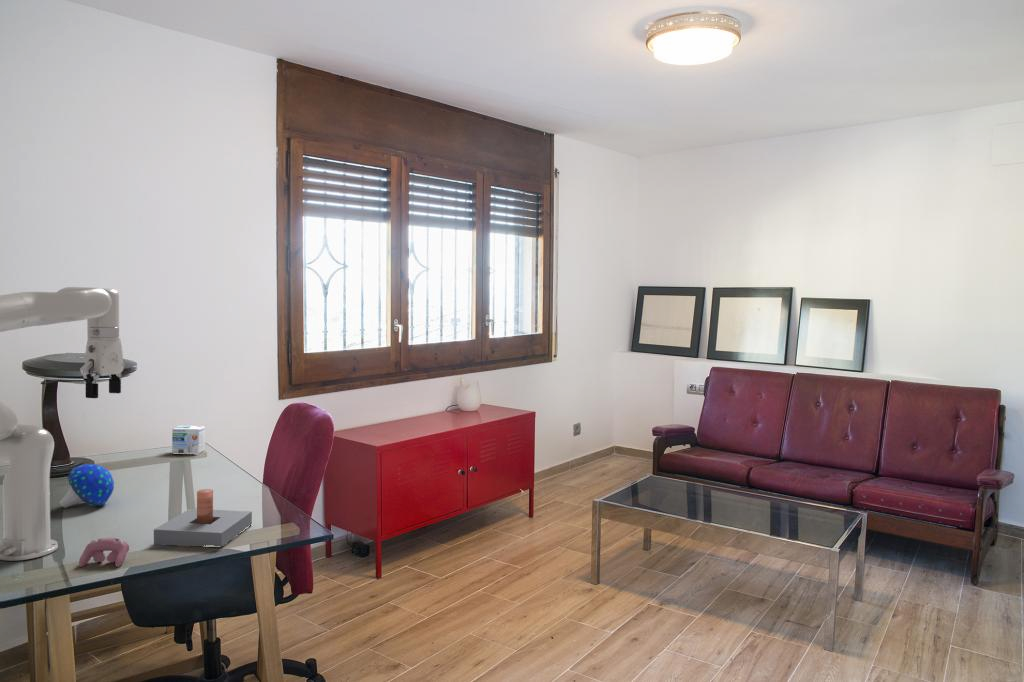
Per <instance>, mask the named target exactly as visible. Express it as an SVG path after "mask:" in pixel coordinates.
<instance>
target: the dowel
mask: <svg viewBox="0 0 1024 682" xmlns="http://www.w3.org/2000/svg"><path fill="white" fill-rule="evenodd" d="M196 509H197V524H212V523H213V510H214V489H211V488H210V489H209V488H206V489H205V488H204V489H198V490H197V491H196Z"/></svg>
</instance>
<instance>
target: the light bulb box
mask: <svg viewBox="0 0 1024 682" xmlns="http://www.w3.org/2000/svg"><path fill="white" fill-rule="evenodd" d="M205 429H206V426H204V425H177V426H176V427H173V428H172V436H171V437H172V439H171V440H172V441H171V443H172V444H171V450H172V451H171V454H172V453H199V452H201V451H203V450H204V449H205V448H206V447H205V446H206V445H205V440H206V430H205Z"/></svg>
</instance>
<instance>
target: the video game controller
mask: <svg viewBox="0 0 1024 682" xmlns="http://www.w3.org/2000/svg"><path fill="white" fill-rule="evenodd" d="M129 550H130V544H129V543H128V542H127V541H124V540H123V539H119V538H116V537H102V538H97V539H93V540H91V541H90V542H89V543H88V544H86V546H85V548H84V550H83V552H82V554H81V555H80V558H79V560H78V565H79V568H83V567H85V566H86V565H87V564H88V563H89V561H91V559H93V561H94V562H95V563H98V562H100V563H103V562H104V561H105V560H107V562H109V563H110V564H115V567H116V568H120V567H121V566H122V565H123V563H124V562H125V560H126V557H127V554H128V552H129ZM106 551H111V552H109V553H108V555H107V556H106V553H105V552H106ZM114 562H115V563H114Z"/></svg>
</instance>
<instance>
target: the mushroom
mask: <svg viewBox="0 0 1024 682" xmlns="http://www.w3.org/2000/svg"><path fill="white" fill-rule="evenodd" d="M67 479H68V484H69V485H70V487H69V489H68V491H67V492H66V494H65V495H64V496H63V497H62V498H61V500H59V504H60V505H61V506H62V507H63V508H69V507H71V506H75V505H77V504H81V503H86V505H88V506H90V507H95V508H97V506H98V507H102V506H103V505H104V504H106V503H107V502H108V500H109V499H110V498H111V496H112V494H113V492H114V488H115V482H114V479H113V476H112V474H111V472H110V471H109V470H108V469H107V468H105V467H104V466H101V465H99V464H95V463H94V464H93V463H85V464H84V463H83V464H80V465H77V466H76V467H73V469H71V470H70V471H69V474H68V476H67Z"/></svg>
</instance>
